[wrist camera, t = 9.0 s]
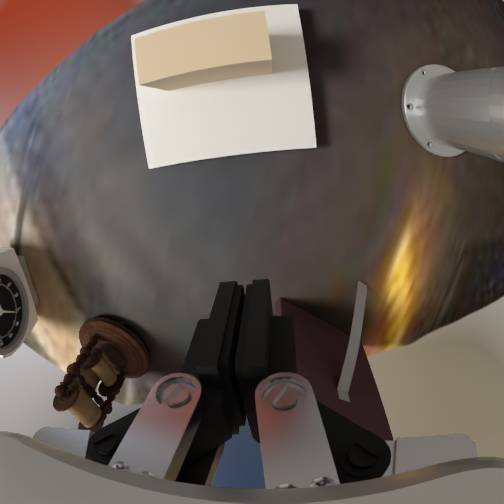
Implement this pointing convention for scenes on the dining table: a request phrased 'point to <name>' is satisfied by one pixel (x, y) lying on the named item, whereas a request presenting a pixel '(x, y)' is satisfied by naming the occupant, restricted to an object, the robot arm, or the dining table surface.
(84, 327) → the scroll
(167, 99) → the display podium
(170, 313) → the dining table surface
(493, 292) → the dining table surface
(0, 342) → the alarm clock
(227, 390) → the robot arm
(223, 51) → the carton
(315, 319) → the picture frame
